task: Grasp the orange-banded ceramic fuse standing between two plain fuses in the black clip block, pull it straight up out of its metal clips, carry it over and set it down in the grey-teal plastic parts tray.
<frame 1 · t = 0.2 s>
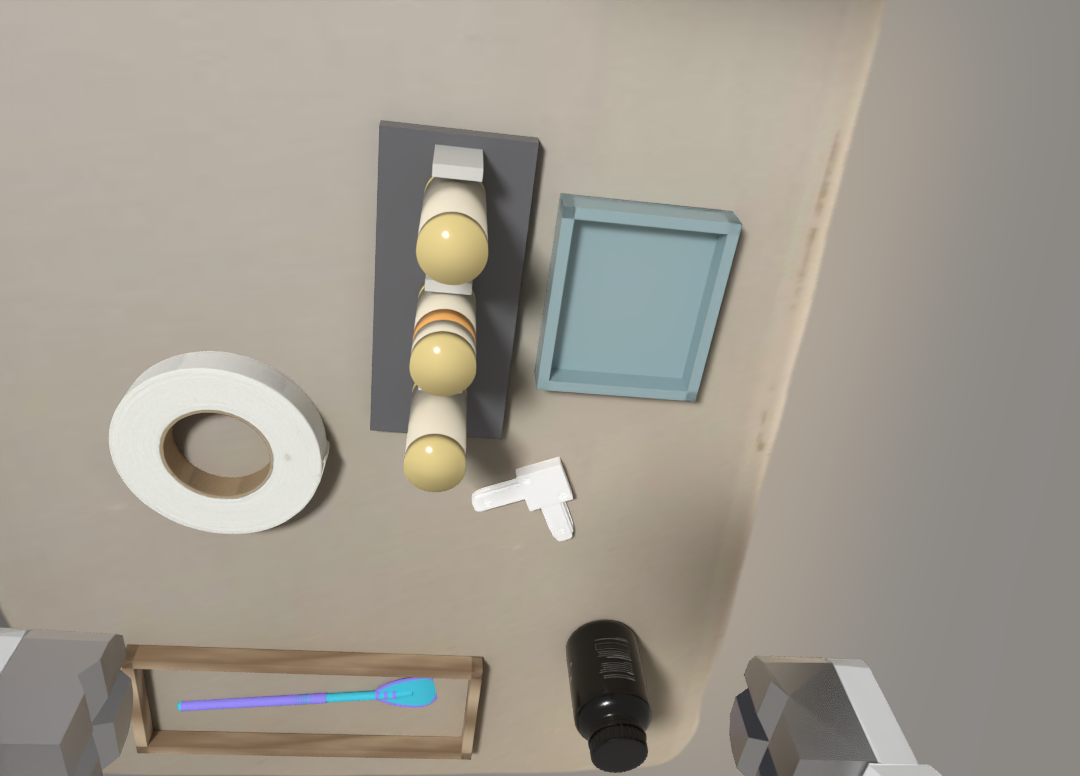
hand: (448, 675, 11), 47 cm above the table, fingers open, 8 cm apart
spoon: (311, 692, 82), on the table
tray: (628, 295, 61), on the table
roll of tape: (228, 434, 66), on the table
clip block: (447, 292, 60), on the table
wooden frame: (310, 697, 81), on the table
corner connector: (526, 500, 71), on the table
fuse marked: (446, 299, 59), point 1 cm above the table, touching clip block
fuse 2: (455, 195, 55), point 1 cm above the table, touching clip block
fuse 1: (439, 390, 63), point 1 cm above the table, touching clip block
supplement bottle: (600, 640, 80), on the table
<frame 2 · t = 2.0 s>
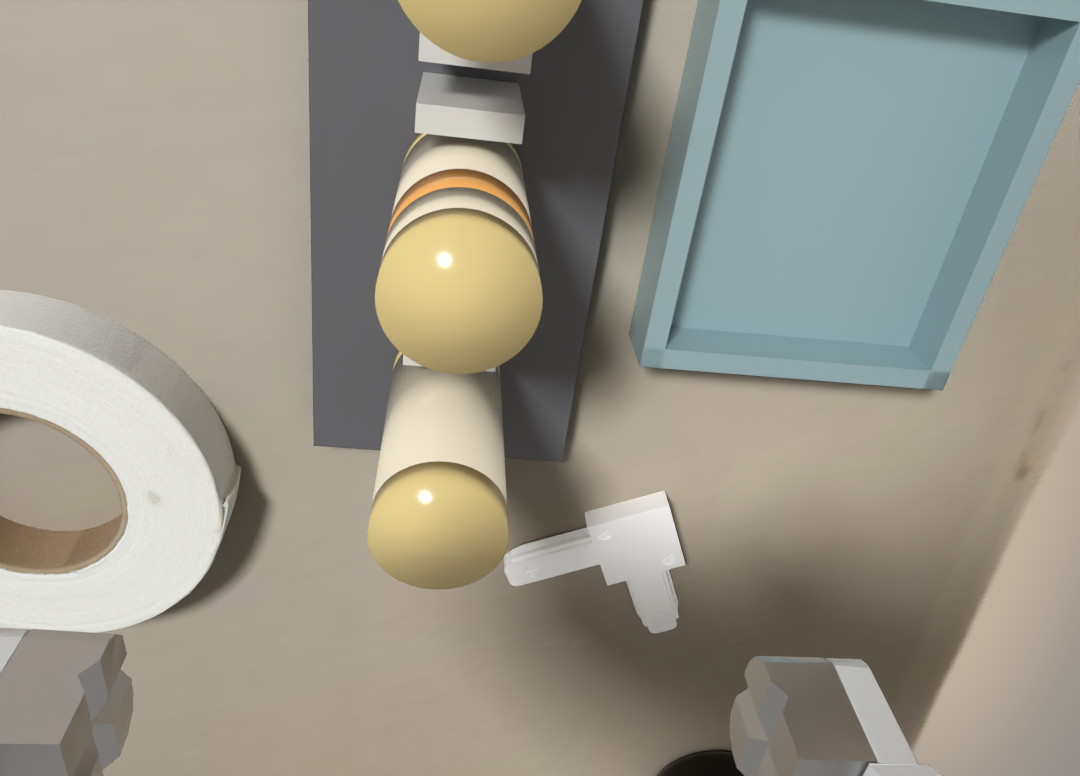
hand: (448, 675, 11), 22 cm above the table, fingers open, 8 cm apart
tray: (827, 176, 30), on the table
roll of tape: (49, 452, 35), on the table
clip block: (463, 165, 29), on the table
corner connector: (598, 563, 41), on the table
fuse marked: (463, 176, 28), point 1 cm above the table, touching clip block
fuse 1: (447, 369, 32), point 1 cm above the table, touching clip block
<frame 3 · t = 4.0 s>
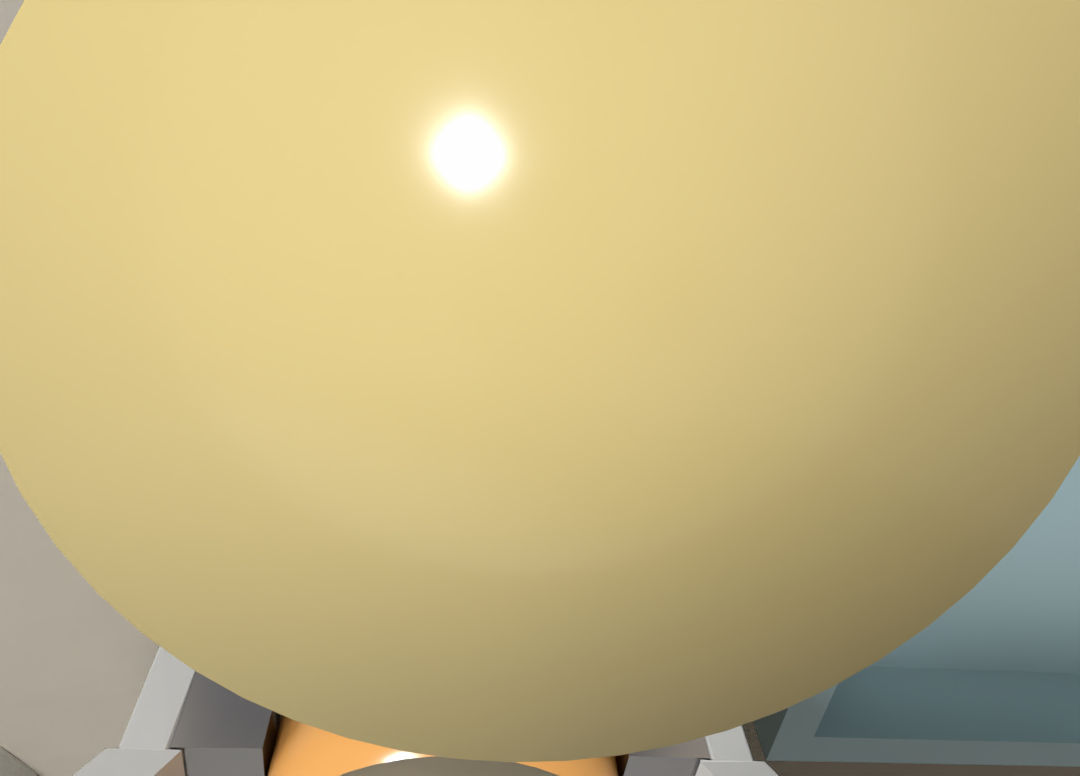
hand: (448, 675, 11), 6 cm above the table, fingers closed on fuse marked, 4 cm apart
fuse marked: (454, 473, 15), point 1 cm above the table, touching clip block, gripper
fuse 2: (498, 16, 11), point 1 cm above the table, touching clip block
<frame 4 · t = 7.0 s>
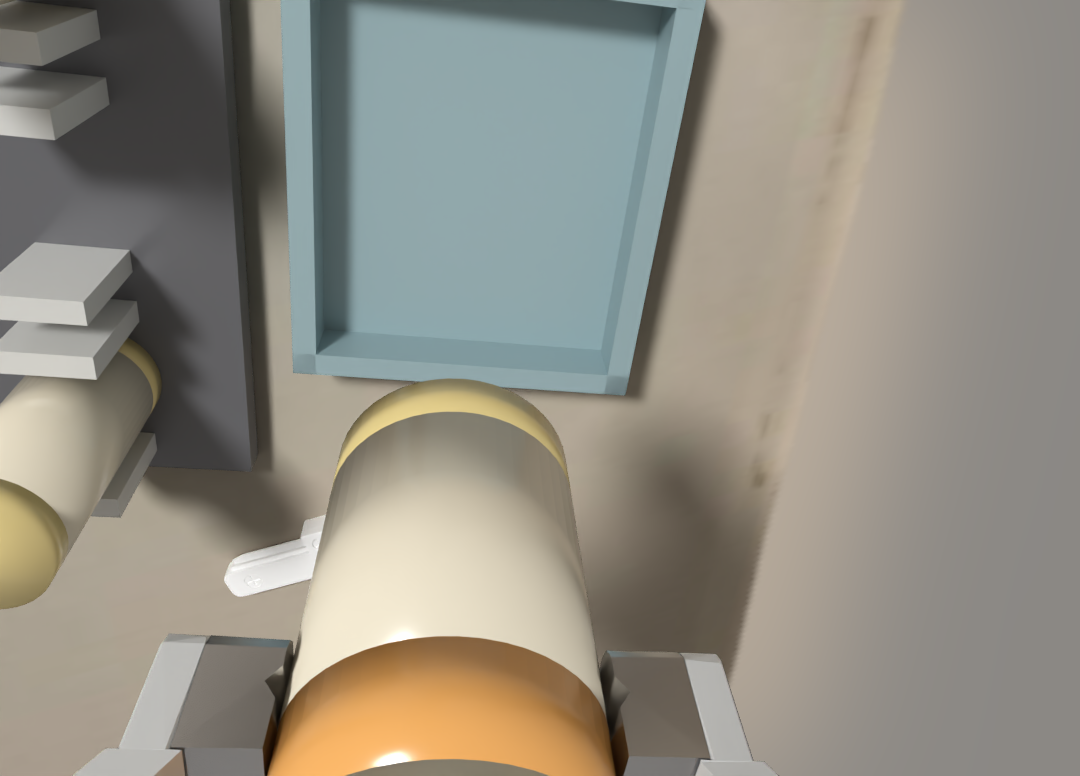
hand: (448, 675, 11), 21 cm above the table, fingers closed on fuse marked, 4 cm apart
tray: (478, 173, 29), on the table
clip block: (85, 164, 28), on the table
corner connector: (337, 573, 39), on the table
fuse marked: (453, 475, 15), point 17 cm above the table, touching gripper
fuse 1: (104, 376, 31), point 1 cm above the table, touching clip block
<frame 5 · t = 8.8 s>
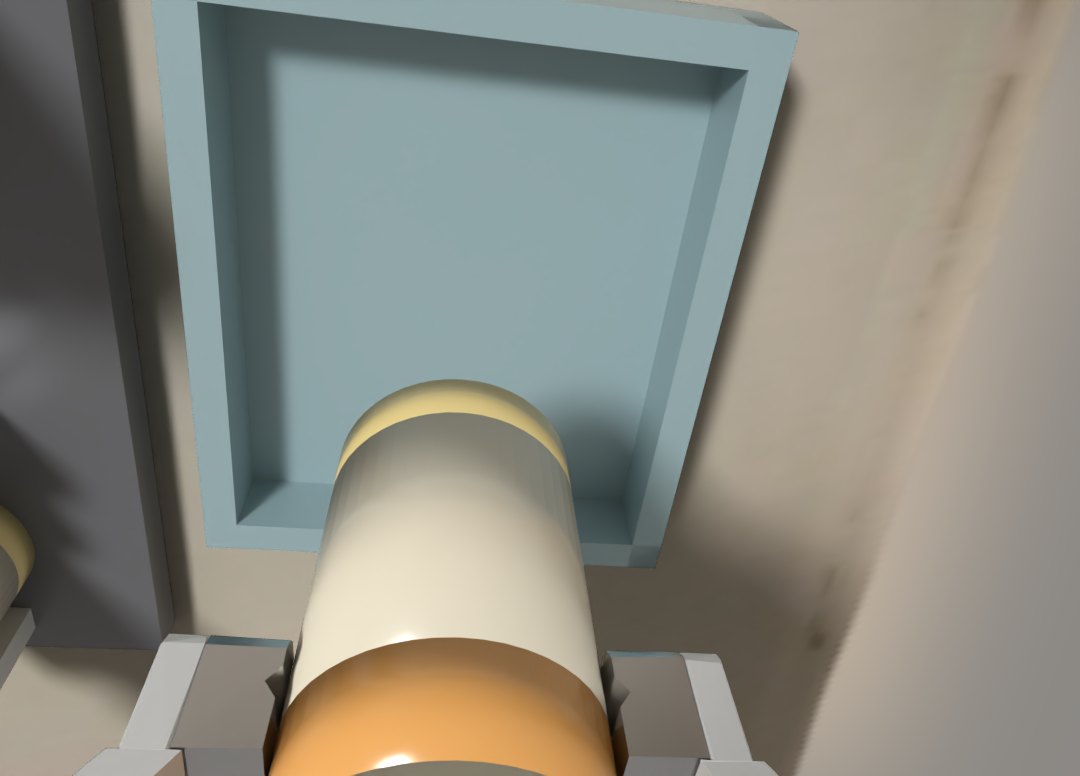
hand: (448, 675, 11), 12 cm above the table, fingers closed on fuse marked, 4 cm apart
tray: (459, 281, 21), on the table
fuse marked: (454, 476, 15), point 8 cm above the table, touching gripper
when the fingers open (6 cm above the table, at t = 10.3 s): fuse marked stays where it is, resting on tray.
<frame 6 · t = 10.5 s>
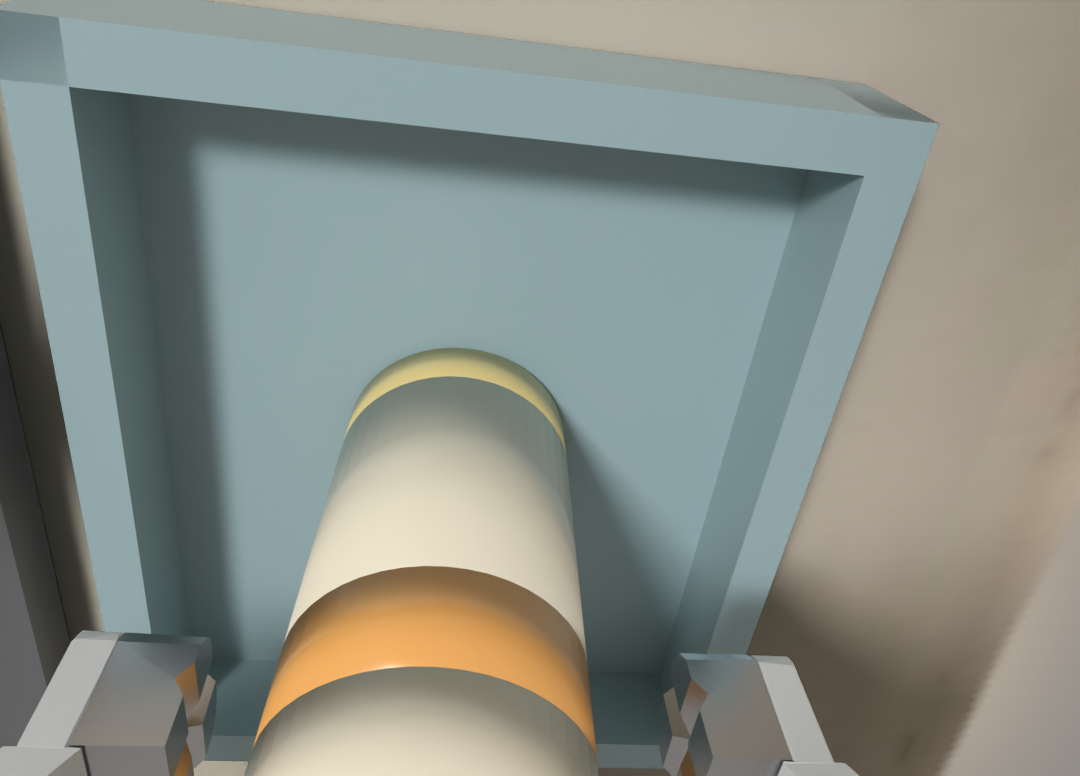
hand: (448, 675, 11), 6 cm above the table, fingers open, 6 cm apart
tray: (456, 422, 16), on the table
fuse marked: (457, 442, 16), point 1 cm above the table, touching tray
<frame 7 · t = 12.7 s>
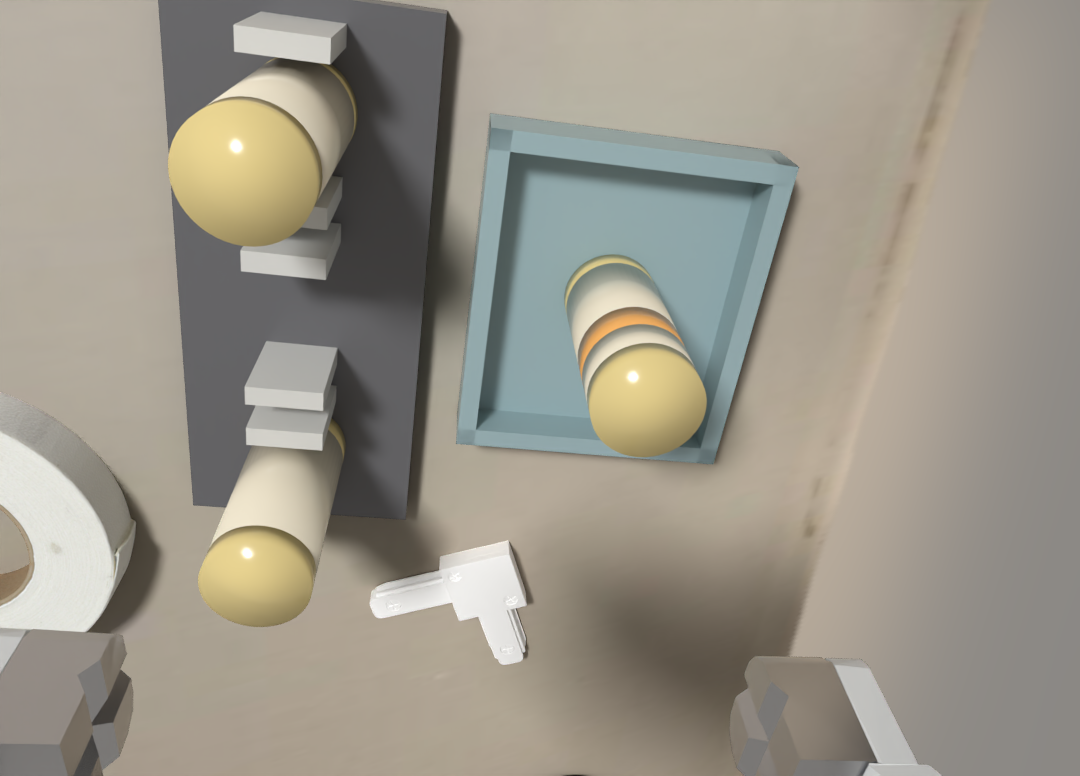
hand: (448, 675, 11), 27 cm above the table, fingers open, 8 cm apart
tray: (606, 292, 38), on the table
clip block: (307, 282, 36), on the table
corner connector: (456, 601, 47), on the table
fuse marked: (609, 297, 37), point 1 cm above the table, touching tray
fuse 2: (303, 109, 32), point 1 cm above the table, touching clip block
fuse 1: (301, 443, 39), point 1 cm above the table, touching clip block
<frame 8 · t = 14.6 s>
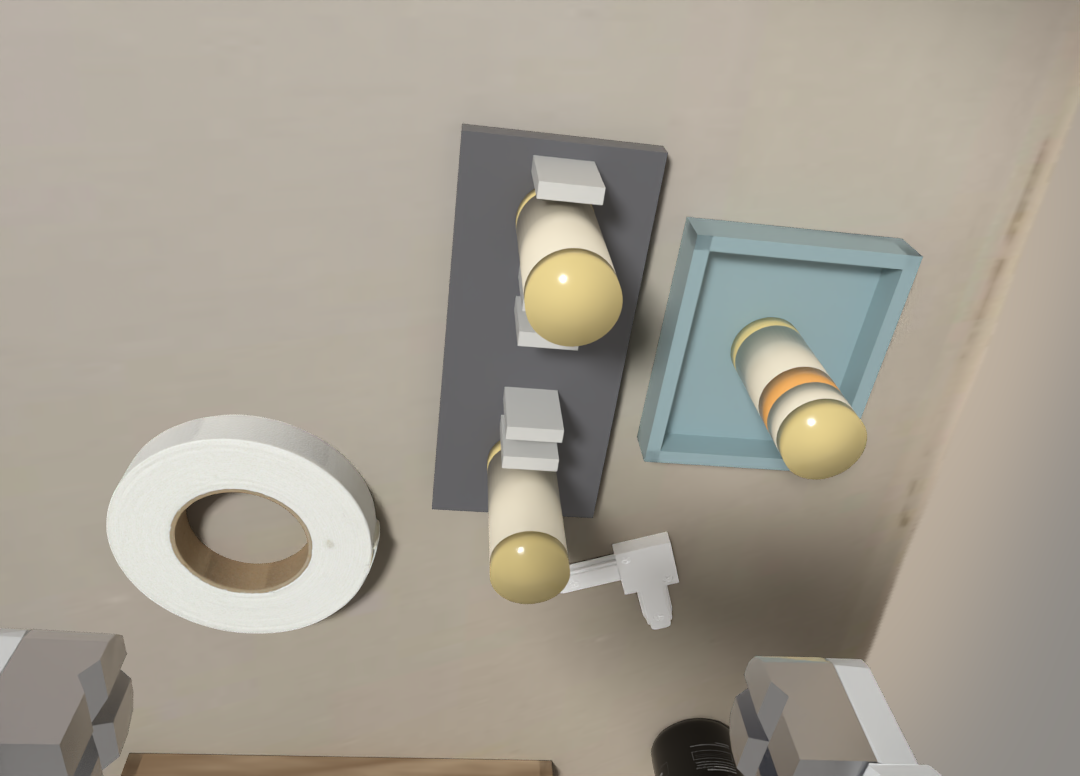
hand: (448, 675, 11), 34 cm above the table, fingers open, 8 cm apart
tray: (761, 343, 49), on the table
roll of tape: (254, 512, 53), on the table
clip block: (535, 340, 47), on the table
corner connector: (617, 579, 59), on the table
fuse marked: (765, 348, 48), point 1 cm above the table, touching tray
fuse 2: (555, 221, 43), point 1 cm above the table, touching clip block
fuse 1: (520, 461, 50), point 1 cm above the table, touching clip block
supplement bottle: (691, 741, 68), on the table
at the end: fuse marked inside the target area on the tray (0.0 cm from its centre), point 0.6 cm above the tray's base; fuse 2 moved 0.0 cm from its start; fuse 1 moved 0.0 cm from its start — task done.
